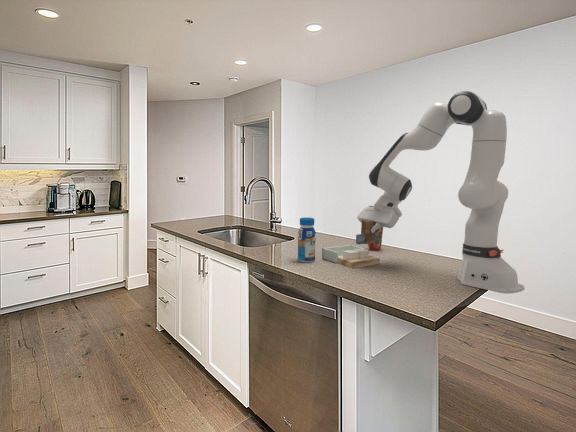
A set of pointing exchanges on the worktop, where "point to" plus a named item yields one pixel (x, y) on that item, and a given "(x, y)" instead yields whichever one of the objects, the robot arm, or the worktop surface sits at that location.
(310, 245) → the beverage bottle
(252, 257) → the worktop surface
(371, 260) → the board
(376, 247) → the smoothie
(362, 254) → the tile
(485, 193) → the robot arm
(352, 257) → the tile
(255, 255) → the worktop surface
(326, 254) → the tray
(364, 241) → the stacked block structure
